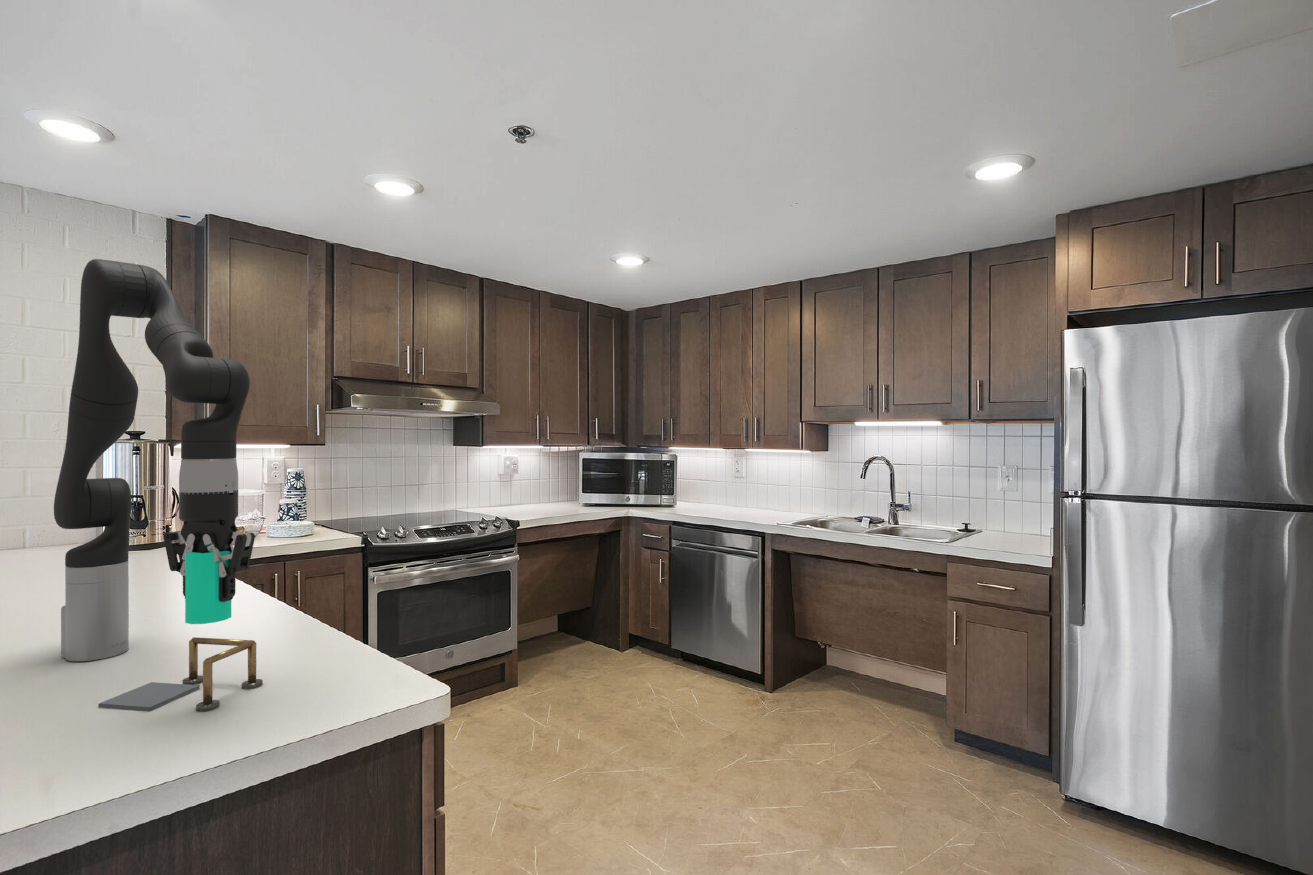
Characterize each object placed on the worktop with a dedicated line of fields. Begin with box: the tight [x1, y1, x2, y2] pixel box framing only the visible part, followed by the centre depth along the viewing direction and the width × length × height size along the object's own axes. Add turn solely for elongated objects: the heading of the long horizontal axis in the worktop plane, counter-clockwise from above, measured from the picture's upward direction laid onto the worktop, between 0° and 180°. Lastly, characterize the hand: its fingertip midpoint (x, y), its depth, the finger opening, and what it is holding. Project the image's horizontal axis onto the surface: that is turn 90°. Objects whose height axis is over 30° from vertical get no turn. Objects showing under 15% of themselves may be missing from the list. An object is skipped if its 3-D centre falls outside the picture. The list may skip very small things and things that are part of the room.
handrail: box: [181, 637, 264, 713], centre depth 107 cm, size 14×12×8 cm
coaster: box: [97, 681, 201, 712], centre depth 106 cm, size 9×9×1 cm
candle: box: [184, 551, 232, 625], centre depth 102 cm, size 6×6×12 cm
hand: (209, 599), depth 102 cm, fingers closed on candle, 5 cm apart
